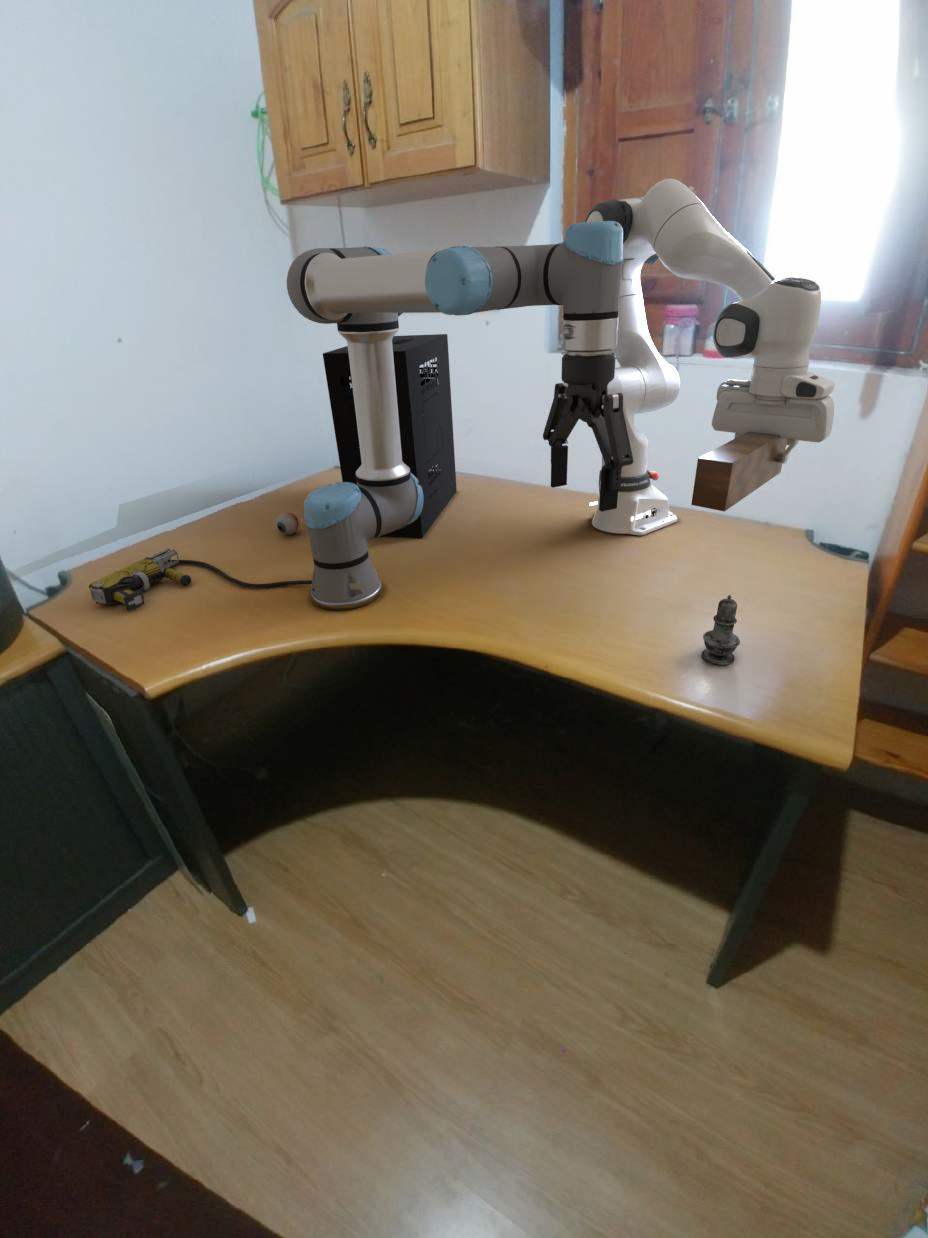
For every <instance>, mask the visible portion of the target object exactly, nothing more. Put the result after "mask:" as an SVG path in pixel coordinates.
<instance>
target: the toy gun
mask: <svg viewBox="0 0 928 1238" xmlns="http://www.w3.org/2000/svg"><path fill="white" fill-rule="evenodd" d="M173 557H176V558H177V559H176V560H177V561H174V560H175V559H172V558H173ZM169 559H170V561H171V562H168V560H169ZM179 560H180V559H179V553H178V551H177V550H176V549H171V548H169V547H168V548H166V549H164V550H162V551H159V552H158V553H155V554H153V555H151V556H146V557H145V558H142V559H140V560H138V561H135V562H134V563H132V564H130V565H127V566H125V567H123V568H121V569H119V570H117V571H115V572H112V573H110V574H108V575H106V576H104V577H102V578H100V579H97V580H95V581H93V582H91V583H89V584H88V588H89V592H90V595H91V599H92V601H93V602H95V604H96V605H100V606H103V605H113V604H117V603H121V604H123V605H124V606H125V611H128V612H129V611H131V610H134V609H136V608H138V607H141V606H143V605H145V604H146V603H145V598H144V594H143V592H145V591H147V590H149V589H150V588H151V585H152V584H154V583H157V582H160V581H162V580H163V579H164V578H166V579H169V580H171V581H173V582H177V584H181V585H182V586H184V587H186V586H189V585H191V584H192V577H191V576H190V575H189V574H185V573H182V572H180V571H178V570H175V569H173V568H172V567H173V566H175V565H179V564H180V563H179ZM172 561H174V562H172Z"/></svg>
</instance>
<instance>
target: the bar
mask: <svg viewBox="0 0 928 1238" xmlns="http://www.w3.org/2000/svg"><path fill="white" fill-rule="evenodd" d="M734 438H735V437H734ZM734 438H733V439H731V440H729V441H728V442H725V443H723V444H722V445H720V446H718V447H716V448H714V449H712V450H711V451H708V452H707V453H704V454H702V455H700V456H699V457H698V458H697V461H696V469H695V477H694V483H693V490H692V495H691V496H692V497H691V506H694V507H700V508H705V509H709V510H715V511H720V512H727V511H728V510H730V509H731V508H732V507H733V506H735V505H736V504H738V503H739V502H740V501H742V500H743V499H745V498H746V497H748V496H750V495H751V494H752V493H753V492H755V491H757V490H758V489H759V488H760V487H762V486H763V485H765V484H766V483H768V482H769V481H770V480H772V479H773V478H775V477H776V476H778V475H779V474H781V472H782V467H783V463H777V462H776V461H777V456H778V453H780V452H781V451H783V452H784V451H785V450H786V449H787V445H786V443H787V439H783V438H780V435H773V434H764V433H756V432H746V433H744V434H743V435H741V436H739V437H737V438H735V439H734Z"/></svg>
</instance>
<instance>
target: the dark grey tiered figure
mask: <svg viewBox="0 0 928 1238" xmlns="http://www.w3.org/2000/svg"><path fill="white" fill-rule="evenodd" d="M737 610H738V603H737V602H736V600H735V599H732V595H731V594H729V595H728V596H727V598H723V599H720V601H719V602H718V605H717V610H716V615H714V616H713V622H714V624H713V628H712V629H711V630H707V631H705V633H703V635H702V639H703V642H704V646H705V649H703V650H702V652H701V656H702V658H703V659H704V660H705V661H706V662H708V663H710V664H714V665H718V666H727V665H731V664H732V663H734V661H735V659H736V657H735V654H733V653H734V652H735V651H736V650H737V648H738V647H739V646H740V644H741V639H740V638H739V636H737V635H736V634H734V628H735V625H736V624H737V623H738V620H737V618H736V615H737Z"/></svg>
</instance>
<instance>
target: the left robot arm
mask: <svg viewBox="0 0 928 1238" xmlns="http://www.w3.org/2000/svg"><path fill="white" fill-rule="evenodd" d="M623 261H624V259H623V228H622V226H621V225H620V224H619V223H618V222H616V221H597V222H576V223H571V224H569V225H568V226H567V227H566V229H565V235H564V239H563V242H559V243H552V244H550V243H549V244H534V245H531V244H530V245H505V246H504V245H503V246H502V245H501V246H499V245H498V246H468V245H460V246H459V245H457V246H456V245H455V246H451V247H448V248H443V249H435V250H424V251H423V250H422V251H414V252H413V251H412V252H402V253H393V252H391V251H389V250H388V249H385V248H381V247H372V246H367V245H366V246H365V245H364V246H359V247H357V246H356V247H355V246H354V247H329V248H328V247H317V248H312V249H308V250H306V251H303V252H302V253H301V254H299V255H298V256H296V257H295V258H294V260H293V261H292V262H291V264H290V265H289V268H288V271H287V275H286V290H287V295H288V297H289V300H290V302H291V303H292V305H293V308H295V309H296V311H297V312H298V313H299V314H300V315H301V316H302V317H304V318H305V319H307V320H309V321H311V322H314V323H318V324H323V325H330V324H331V325H332V324H336V327H337V333H338V334H339V335H340V336H341V337H342V338H343V339H345V341H346V343H347V344H346V346H348V353H349V361H350V370H351V378H352V384H351V387H353V395H354V403H355V411H356V420H357V428H358V436H359V445H360V453H361V461H362V465H361V466H360V467H359V468H358V470H357V471H356V480H357V485H356V484H354V483H350V482H342V481H338V482H336V483H328V484H325V485H322V486H320V487H317V488H316V489H314V490H312V491H311V492H310V493H308V495H306V497H305V499H304V502H303V513H304V514H303V515H304V524H305V525H306V529H307V534H308V539H309V540H308V541H309V546H310V550H311V555H312V560H313V573H312V579H304V580H303V579H302V580H285V581H277V582H276V581H275V582H268V583H251V582H245V581H242V580H240V579H237V578H234V577H232V576H229V575H228V574H227V573H226V572H224V571H223V570H221V569H220V568H217V567H216V566H214V565H212V564H209V563H207V562H204V561H200V560H192V559H179V563H178V564H184V565H185V564H188V565H197V566H202V567H205V568H207V569H209V570H212V572H215V573H217V574H219V575H220V576H221V577H223V578H224V579H226V580H228V581H229V582H231V583H234V584H236V585H239V586H241V587H245V588H251V589H266V588H275V587H282V586H284V587H285V586H296V585H297V586H299V585H311V586H310V597H311V600H312V602H313V604H314V605H316V606H317V607H319V608H321V609H325V610H331V611H346V610H352V609H356V608H360V607H363V606H367V605H368V604H371V603H372V602H374V601H375V600H377V599H378V598H379V597H380V595H381V594H382V591H383V586H382V580H381V578H380V577H379V574H378V573H377V571H376V569H375V566H374V565H373V563H372V561H371V559H370V554H369V547H368V542H370V541H372V540H374V539H377V538H380V537H382V535H385V534H387V533H390V532H392V531H395V530H397V529H402V528H404V527H406V526H407V525H408V524H410V523H412V522H414V521H415V520H416V519H417V518H418V517H419V515H420V514H421V511H422V508H423V491H422V488H421V486H420V485H418V482H419V481H418V480H417V478H416V477H415V476H414V475H413V474H412V473H410V468H409V467H408V466H407V465H406V464H405V463H404V462H403V461H402V452H401V440H400V429H399V417H398V405H397V393H396V381H395V370H394V358H393V346H392V339H393V336H396V334H397V333H398V331H399V330H400V324H399V317H400V316H401V315H403V314H409V313H410V314H411V313H414V314H415V313H417V314H420V313H421V314H422V313H425V314H426V313H429V314H430V313H431V314H432V313H434V314H435V313H441V314H444V315H447V316H457V317H458V316H469V315H472V314H476V313H482V312H490V311H501V310H508V309H509V310H510V309H516V308H517V309H519V308H525V307H535V306H539V307H540V306H562V319H563V324H562V325H563V327H562V350H563V351H565V352H566V353H564V354H563V356H562V357H561V377H560V378H561V381H562V382H559V383H558V382H557V383H555V384H554V391H553V392H554V393H553V399H552V403H551V405H550V409H549V413H548V416H547V419H546V423H545V425H544V430H543V433H542V439H543V440H544V441H548V445H549V447H550V487H551V488H558V487H563V486H567V485H568V464H569V463H568V461H569V460H568V459H569V445H568V444H569V442H568V438H569V437H570V435H571V433H572V432H573V430H574V428H575V427H576V425H577V424H578V421H579V420H581V422H584V423H586V425H587V427H589V428H591V430H592V432H593V435H594V438H595V440H596V443H597V445H598V449H599V451H600V453H601V458H602V457H603V459H604V462H605V465H604V466H603V467H602V466H601V468H602V470H601V469H600V470H601V486H600V502H599V511H602V512H603V511H607V510H612V509H616V508H617V500H618V489H619V488H620V483H621V470H622V467H623V466H626V465H631V464H633V456H632V451H631V446H630V441H629V436H628V432H627V427H626V422H625V417H624V412H623V395H622V393H615V394H608V388H607V386H608V384H609V382H611V381H612V380H613V379H614V375H615V368H616V361H617V360H616V355H614V353H613V352H612V350H613V349H615V348H616V347H617V336H618V318H619V317H618V307H619V295H620V283H621V271H622V263H623ZM601 415H602V417H600V416H601ZM623 456H624V457H623ZM612 457H613V459H612ZM173 560H174V561H177V560H178V559H173ZM174 561H172V562H174ZM168 562H171V561H170V559H169V560H168Z"/></svg>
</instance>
